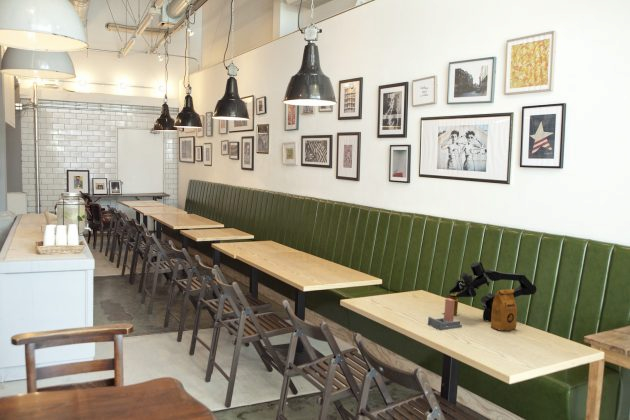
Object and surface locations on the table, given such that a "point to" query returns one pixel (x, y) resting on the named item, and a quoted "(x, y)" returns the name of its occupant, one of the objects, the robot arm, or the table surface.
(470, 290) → the robot arm
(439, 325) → the track housing
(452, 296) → the condiment
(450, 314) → the tall terracotta column
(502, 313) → the coffee package
